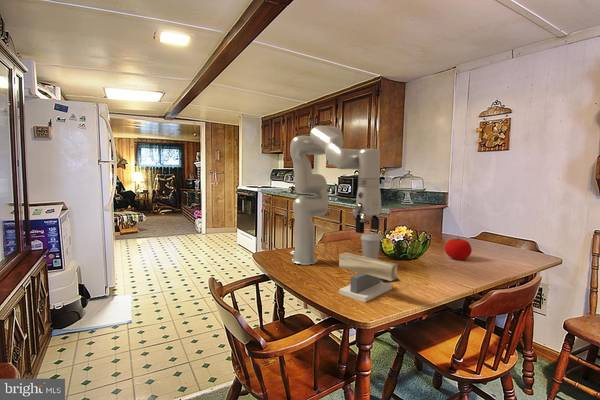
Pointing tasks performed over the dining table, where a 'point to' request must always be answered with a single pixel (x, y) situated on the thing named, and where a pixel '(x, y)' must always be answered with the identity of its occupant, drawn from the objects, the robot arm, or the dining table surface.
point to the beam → (368, 266)
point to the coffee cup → (370, 245)
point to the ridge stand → (365, 287)
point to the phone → (388, 280)
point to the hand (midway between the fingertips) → (367, 231)
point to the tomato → (458, 249)
